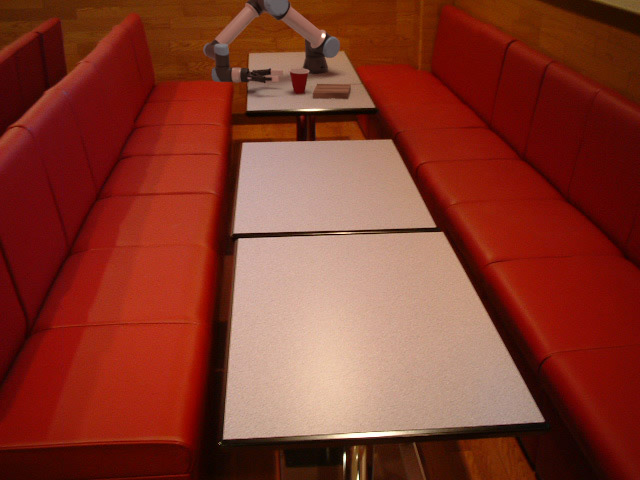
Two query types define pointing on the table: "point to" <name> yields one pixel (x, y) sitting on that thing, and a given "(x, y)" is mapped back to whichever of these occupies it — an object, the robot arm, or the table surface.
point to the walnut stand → (332, 91)
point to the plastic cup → (299, 79)
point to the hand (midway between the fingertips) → (280, 75)
